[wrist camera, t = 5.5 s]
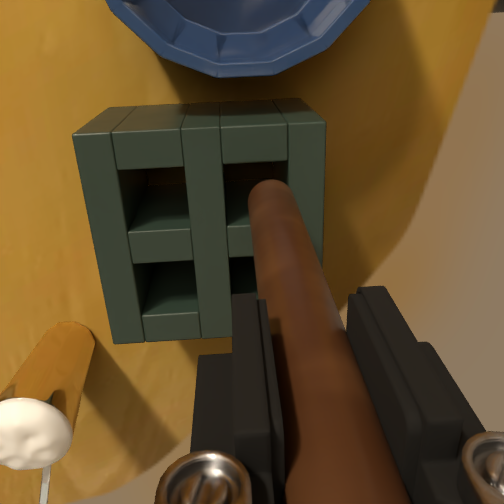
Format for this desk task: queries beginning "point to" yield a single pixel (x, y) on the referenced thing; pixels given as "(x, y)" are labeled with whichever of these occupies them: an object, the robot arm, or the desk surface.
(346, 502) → the stick
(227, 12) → the bowl
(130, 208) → the holder
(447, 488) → the robot arm
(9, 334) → the desk surface
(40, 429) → the beer glass
